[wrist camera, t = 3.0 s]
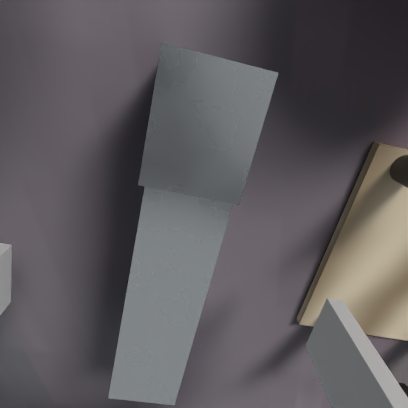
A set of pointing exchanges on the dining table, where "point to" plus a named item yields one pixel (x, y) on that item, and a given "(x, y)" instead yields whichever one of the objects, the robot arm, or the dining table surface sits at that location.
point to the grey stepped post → (184, 210)
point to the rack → (369, 250)
